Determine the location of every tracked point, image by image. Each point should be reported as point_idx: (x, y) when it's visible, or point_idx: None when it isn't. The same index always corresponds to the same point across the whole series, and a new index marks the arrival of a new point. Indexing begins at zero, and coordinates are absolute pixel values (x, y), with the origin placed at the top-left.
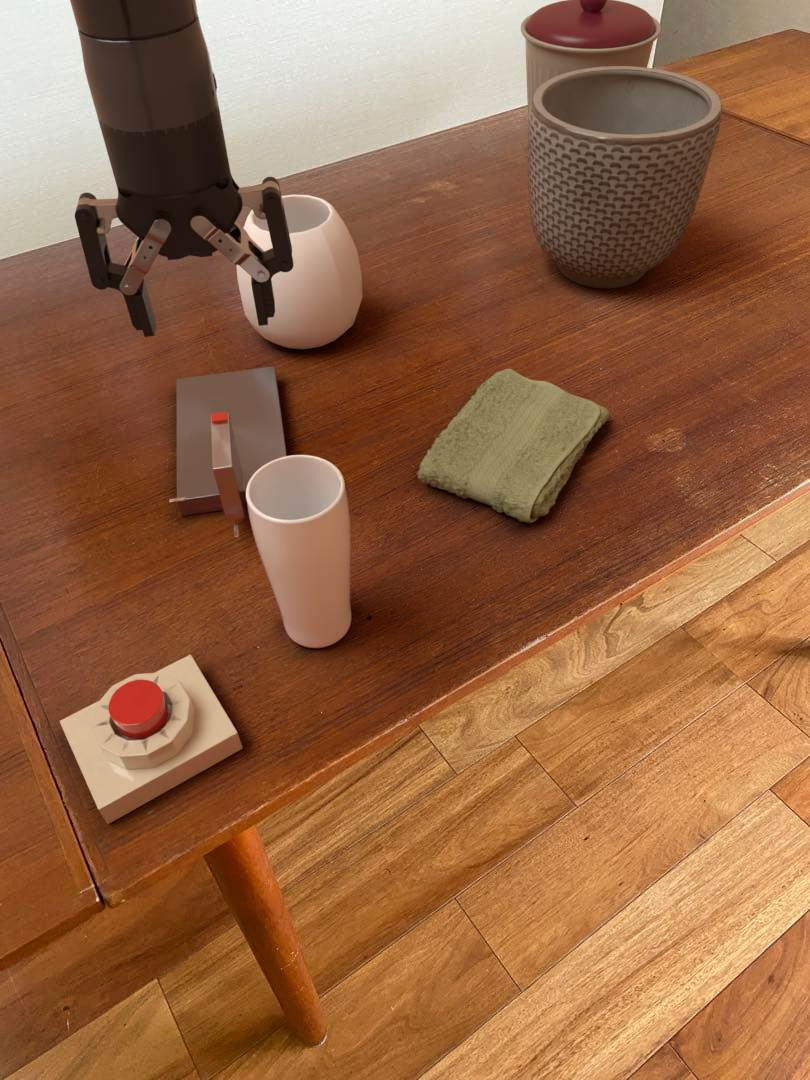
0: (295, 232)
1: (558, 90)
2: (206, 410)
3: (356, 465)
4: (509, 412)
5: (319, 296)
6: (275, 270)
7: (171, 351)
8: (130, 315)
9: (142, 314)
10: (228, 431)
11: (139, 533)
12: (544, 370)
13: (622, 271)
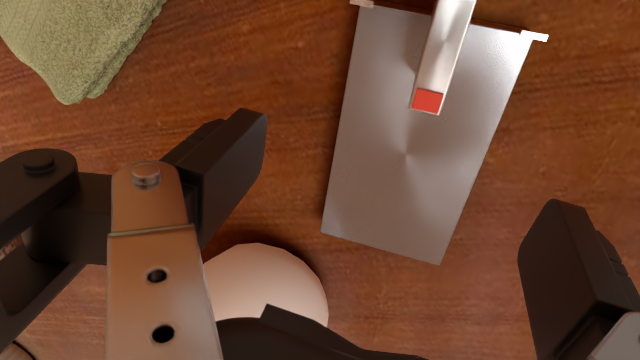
0: None
1: None
2: (423, 198)
3: (269, 32)
4: (55, 13)
5: (227, 284)
6: (102, 180)
7: (424, 315)
8: (622, 269)
9: (591, 248)
10: (424, 60)
11: (605, 18)
12: (42, 102)
13: None
